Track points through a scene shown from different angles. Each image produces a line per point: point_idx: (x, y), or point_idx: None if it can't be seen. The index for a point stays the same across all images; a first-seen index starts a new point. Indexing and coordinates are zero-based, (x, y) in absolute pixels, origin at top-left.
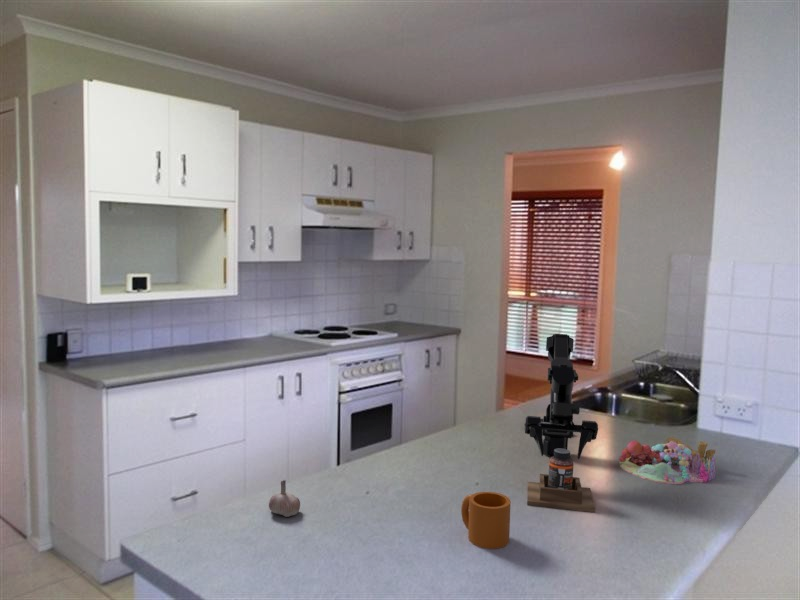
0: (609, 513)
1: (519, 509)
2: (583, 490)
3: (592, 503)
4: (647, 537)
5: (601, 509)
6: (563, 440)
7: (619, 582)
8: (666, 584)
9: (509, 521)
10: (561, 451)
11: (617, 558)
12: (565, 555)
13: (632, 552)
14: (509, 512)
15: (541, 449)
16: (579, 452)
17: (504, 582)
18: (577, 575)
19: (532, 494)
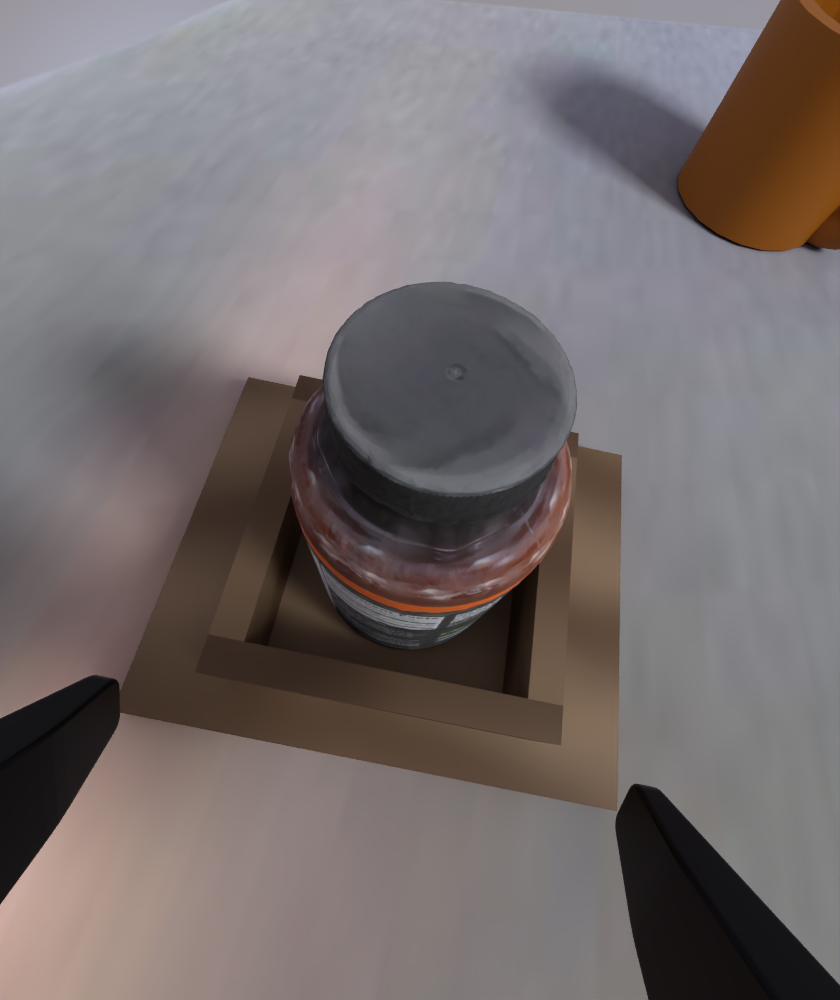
0: (173, 382)
1: (649, 417)
2: (198, 648)
3: (234, 434)
4: (125, 188)
5: (195, 426)
6: None
7: (376, 21)
8: (246, 4)
9: (731, 85)
10: (475, 333)
11: (329, 95)
12: (497, 118)
13: (257, 116)
14: (761, 33)
15: (702, 851)
16: (36, 719)
17: (672, 46)
18: (483, 49)
19: (589, 549)
